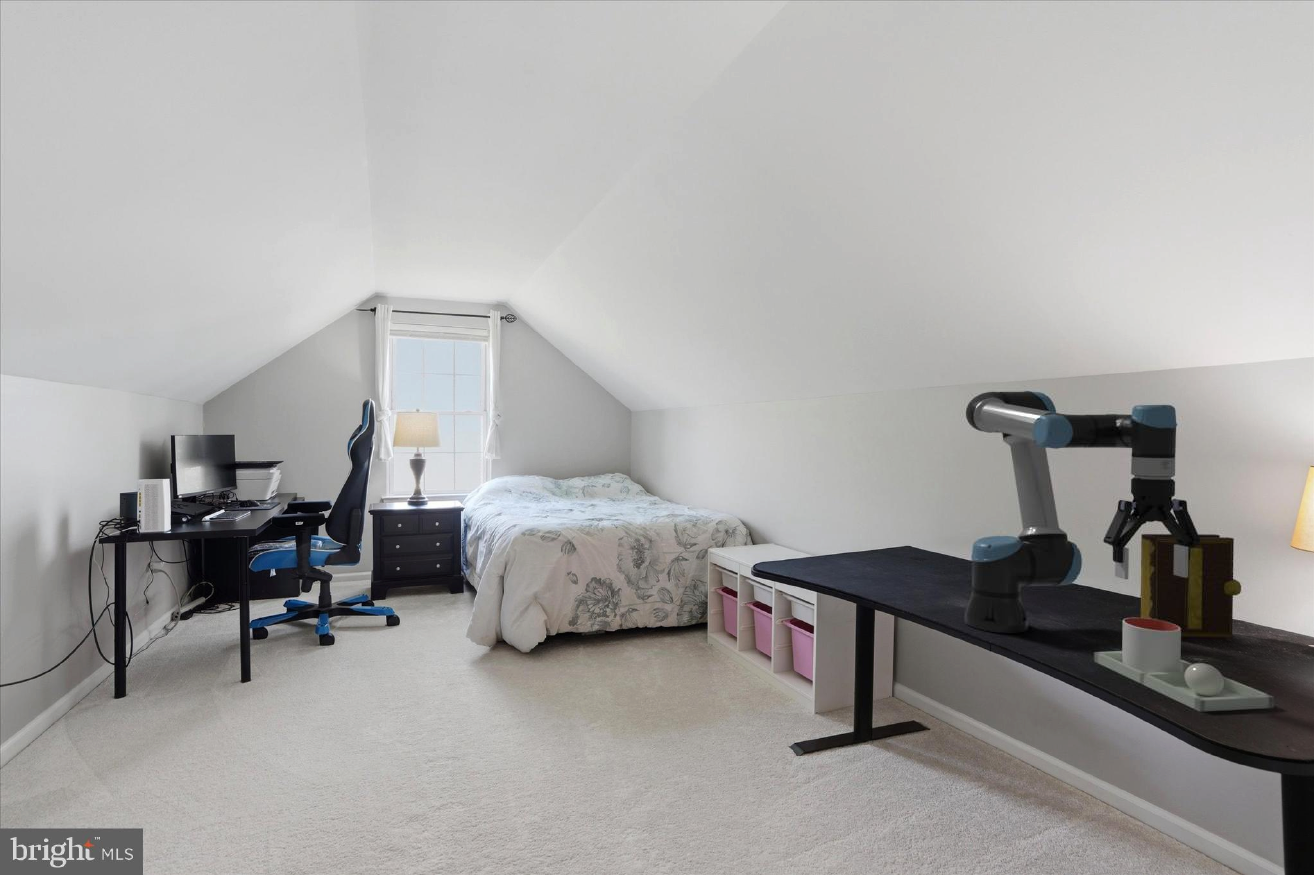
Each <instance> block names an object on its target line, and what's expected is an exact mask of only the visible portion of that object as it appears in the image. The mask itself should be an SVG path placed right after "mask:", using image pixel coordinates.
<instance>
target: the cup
mask: <svg viewBox="0 0 1314 875" xmlns="http://www.w3.org/2000/svg"><path fill="white" fill-rule="evenodd" d="M1181 641H1182V637H1181V628H1180V627H1179V626H1177V625H1175V624H1172V623H1169V622H1166V621H1161V620H1156V619H1149V618H1140V617H1127V618H1124V619H1123V620H1122V646H1121V647H1122V649H1121V651H1122V661H1123V663H1124V664H1126V665H1128V666H1131V667H1133V668H1135V669H1137V670H1139V671H1142V672H1144V673H1153V672H1176V671H1180V667H1181V660H1182V659H1181V656H1182V655H1181V652H1182V651H1181V650H1182V642H1181Z"/></svg>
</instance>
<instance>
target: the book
mask: <svg viewBox="0 0 1314 875" xmlns="http://www.w3.org/2000/svg"><path fill="white" fill-rule="evenodd" d="M1198 535H1199V537H1200V542H1199V543H1196V546H1195V547H1191V550H1190V561H1188V577H1186V578H1184V577H1181V576H1177V575H1174V545H1180V544H1178V542H1177V541H1176V540H1175V539H1174V537H1173V536H1172V535H1171V533H1165V534H1164V533H1144V534H1143V533H1142V534H1141V542H1140V543H1141V545H1140V546H1141V548H1140V549H1141V551H1140V556H1141V557H1140V615H1139V616H1140V617H1139V618H1149V619H1156V620H1161V621H1166V622H1169V623H1172V624H1175V625H1177V626H1179V627H1180V628H1181V638H1221V639H1222V638H1223V639H1224V638H1226V639H1227V638H1230V639H1231V638H1233V623H1234V622H1233V618H1234V617H1233V615H1234V613H1233V612H1234V611H1233V606H1234V602H1233V601H1234V596H1238V595H1240V594H1241V592H1242V585H1241V583H1240V581H1238V580H1237V579H1235V578H1234V554H1235V552H1234V548H1235V547H1234V546H1235V545H1234V541H1235V540H1234V538H1233V537H1223V536H1220V535H1219V534H1206V533H1205V534H1203V533H1202V534H1200V533H1198Z"/></svg>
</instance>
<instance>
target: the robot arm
mask: <svg viewBox="0 0 1314 875" xmlns="http://www.w3.org/2000/svg"><path fill="white" fill-rule="evenodd" d="M1176 414H1177V410H1176V407H1174V406H1173V405H1172V404H1142V405H1141V404H1138V405H1134V406H1133V407H1132V411H1131V414H1124V413H1123V414H1117V413H1113V414H1111V413H1106V414H1105V413H1104V414H1066V413H1059V412H1057V409H1056V406H1055V404H1054V402H1053V400H1052V399H1051V397H1049V396H1048V395H1046V394H1045V393H1043V392H1040V391H1038V392H1037V391H1030V390H1024V391H987V392H982V393H980V394H978V395H976V396H974V397H973V398H972V399H971V400H970V401H969V402H968V404H967V406H966V410H965V417H966V420H967V423H968V424H969V425H970V426H971V427H972V428H973V429H975V430H976V431H979V432H983V433H989V434H991V433H993V434H994V433H997V434H999V433H1002V434H1001V435H1002V441H1003V442H1004V443H1005V444H1007V445H1008V446H1009V447H1010V452H1011V453H1010V454H1011V459H1012V467H1013V472H1014V478H1015V479H1014V480H1015V486H1016V492H1017V498H1018V505H1019V506H1018V507H1019V511H1020V517H1021V525H1022V531H1021V532H1020V533H1019V534H1018V536H1017V537H1016V536H1013V535H994V536H985V537H982V538H979V539H977V540H975V541H974V542H973V543H972V550H971V596H970V599H969V601H968V603H967V606H966V609H965V611H964V623H965V624H966V625H968V626H969V627H972V628H974V629H975V628H976V629H978V630H982V631H985V632H993V633H1000V634H1017V633H1023V632H1026V631H1028V629H1029V620H1028V617H1027V614H1026V611H1025V608H1024V605H1023V602H1022V599H1021V598H1022V597H1021V590H1022V588H1021V587H1043V586H1044V587H1047V586H1050V587H1058V586H1067V585H1071V584H1072V583H1074V582H1075V581H1076V580H1077V578H1078V576H1079V575H1080V573H1081V571H1082V567H1083V566H1082V564H1083V558H1082V552H1081V550H1080V548H1078V545H1077V544H1076V543H1074V542H1073V541H1070V540H1068V535H1067V534H1068V533H1067V532H1066V531H1064V530H1063V529H1061V528H1060V525H1059V520H1058V513H1057V506H1056V501H1055V495H1054V489H1053V483H1052V478H1051V470H1050V466H1049V459H1048V453H1047V448H1048V449H1055V450H1057V449H1067V448H1068V449H1075V448H1083V449H1087V448H1088V449H1089V448H1092V449H1093V448H1094V449H1095V448H1099V449H1102V448H1104V449H1106V448H1108V449H1110V448H1111V449H1114V448H1115V449H1116V448H1117V449H1118V448H1120V449H1131V458H1130V459H1131V460H1130V462H1131V463H1130V464H1131V465H1130V466H1131V467H1130V468H1131V470H1130V474H1131V475H1132V476H1134V477H1132V479H1130V493H1131V495H1132V496H1133V497H1132V498H1133V499H1132V501H1130V500H1125V499H1119V500H1118V502H1117V510H1116V512H1115V514H1114V517H1113V519H1112V520H1111V523H1110V525H1109V527H1108V529H1107V531H1106V534H1105V535H1104V537H1103V543H1105V544H1107V545H1109V546H1112V561H1113V562H1114V577H1115V578H1116V577H1117V578H1118V579H1122V580H1129V562H1130V561H1129V560H1130V557H1129V556H1130V554H1129V553H1130V550H1129V548H1128V547H1126V546H1127V545H1128V543H1129V542H1130V541H1131V540H1132V538H1133V537H1134V536H1135V535H1136V534H1137V532H1138V531H1139V529H1140V528H1141V527H1142V525H1145V524H1146V523H1153V522H1159V523H1160V522H1161V523H1162V525H1163V526H1164V527H1165V528H1166V530H1167V531H1168V532H1169V534H1171V535H1172V536H1173V537H1174V539H1175V540H1176V541H1177V542H1178V544H1180V545H1174V575H1177V576H1181V577H1184V578H1186V577H1188V561H1190V550H1191V547H1195V546H1196V543H1199V542H1200V537H1199V535H1198V534H1199V533H1198V531H1197V529H1196V526H1195V525H1194V524H1195V523H1194V522H1193V519H1192V517H1191V514H1190V513H1189V511H1188V502H1187V500H1185V499H1178V498H1177V499H1176V498H1173V497H1175V495H1176V480H1175V479H1173V478H1174V477H1175V476H1176V451H1177V450H1176V448H1177V446H1176V444H1177V443H1176V442H1177V426H1178V423H1177V415H1176ZM1172 477H1173V478H1172ZM1171 511H1172V512H1173V513H1172V512H1171Z"/></svg>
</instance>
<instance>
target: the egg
mask: <svg viewBox="0 0 1314 875" xmlns="http://www.w3.org/2000/svg"><path fill="white" fill-rule="evenodd" d="M1192 664H1193V665H1190V666H1189V667H1188V668H1187V669H1186V671H1185V674H1184V678H1185V681H1186V683H1187V685H1188V686H1189V688H1190V689H1192V690H1193V691H1194V692H1196V693H1198V694H1201V695H1205V696H1212V695H1216V694H1218V693H1219V692H1221V690H1222V689H1223V687H1224V679H1223V677H1224V676H1223V675H1222V673H1221V672H1220V671H1219V670H1218V669H1217V668H1215V667H1214V666H1213V665H1211V664H1207V663H1204V662H1198V663H1197V662H1196V663H1192Z"/></svg>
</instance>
